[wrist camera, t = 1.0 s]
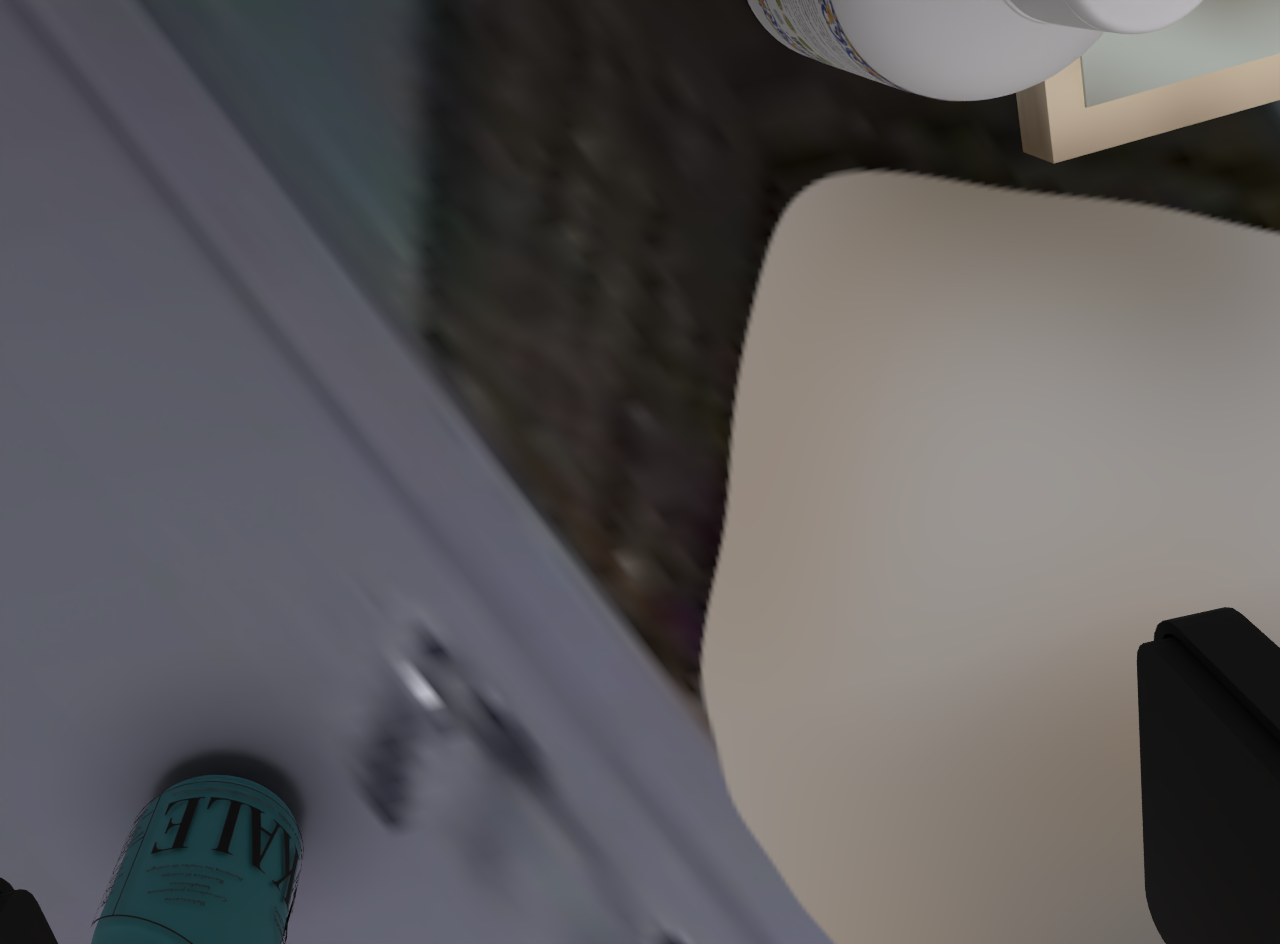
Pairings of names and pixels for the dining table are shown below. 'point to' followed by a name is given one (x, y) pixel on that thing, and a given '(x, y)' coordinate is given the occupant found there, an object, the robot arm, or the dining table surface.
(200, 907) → the beverage bottle
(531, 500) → the dining table surface
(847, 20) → the bath foam
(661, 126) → the dining table surface
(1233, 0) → the plinth
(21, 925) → the robot arm
